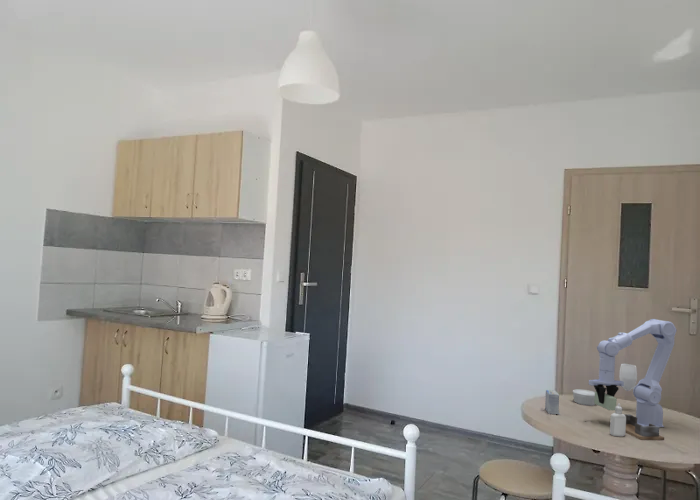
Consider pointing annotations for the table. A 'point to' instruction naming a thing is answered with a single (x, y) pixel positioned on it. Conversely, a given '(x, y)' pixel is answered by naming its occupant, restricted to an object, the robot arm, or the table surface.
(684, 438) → the table surface
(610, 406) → the rail plank
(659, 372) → the robot arm
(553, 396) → the medicine box
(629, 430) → the slotted holder
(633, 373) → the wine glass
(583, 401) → the ramekin
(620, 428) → the eye dropper bottle
